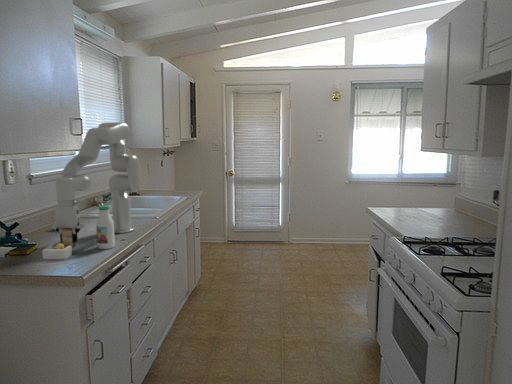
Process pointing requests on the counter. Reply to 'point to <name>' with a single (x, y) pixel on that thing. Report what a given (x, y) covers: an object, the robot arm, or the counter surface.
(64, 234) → the slider
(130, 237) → the counter surface
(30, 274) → the counter surface
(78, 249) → the deck
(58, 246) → the ball
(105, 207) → the milk bottle
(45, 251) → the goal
